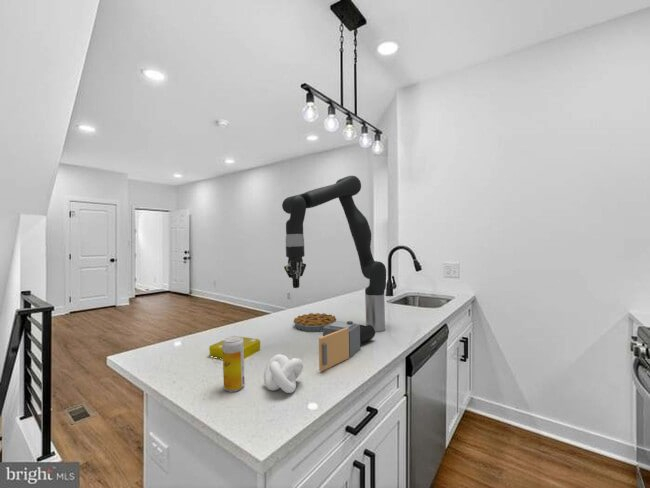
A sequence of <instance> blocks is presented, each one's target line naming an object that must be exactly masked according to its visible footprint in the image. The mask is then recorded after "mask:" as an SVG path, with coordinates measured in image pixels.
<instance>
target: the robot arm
mask: <svg viewBox="0 0 650 488" xmlns="http://www.w3.org/2000/svg"><path fill="white" fill-rule="evenodd" d="M361 189H362V182H361V180H360V178H359V177H357V176H355V175H347V176H345V177H342V178H339V179H337V181H336V182H335V183H333V184H329V185H326V186H322V187H317V188H314V189H312V190H308V191H306V192H304V193H300V194H295V195H292V196H288V197H286V198H284V200H283V201H282V204H281V207H282V208H281V209H282V210H283V211H284V212H285V213H286V214H289V219H288V220H286V222H285V257H286V258H288V259H287V265H284V266H283V267H284V271H285V272H286V275H287V277H288V278H291V280H292V288H293V289H298V288H300V279H301V277H303V275H304V273H305V270H306V267H307V264H306V263H304V262H303V257H305V237H304V221H305V216H306V212H307V209H311V208H315V207H318V206H321V205H323V204H326V203H328V202H330V201H333V200H335V199H338V201H339V203H340V204H341V207H342V210H343V212H344V215H345V219H346V221H347V224H348V226H349V227H348V228H349V230H350V234H351V237H352V241H353V243H354V246H355V249H356V252H357V256H358V259H359V260H358V261H359V265H360V270H361V273H362V275H363V277H364V278H366V279H368V280H369V284H368V286H367V287H365V289H364V294H365V295H364V297H365V298H364V299H365V300H364V301H365V326H367V325H371V326H373V328H374V330H375V333H378V332H384V331H385V330H386V315H385V314H386V313H385V312H386V309H385V307H386V305H385V290H386V287H387V268H386V266H385V264H384V263H383V262H382V261H378V260H374V256H373V254H372V250H371V243H372V231H371V228H370V225H369V221H368V219H367V217H366V216H365V215H364V214H363V213H362V212H361V211H360V210H359V209H358V207H357V205H356V204H355V201H354V199H353V197H354V196H355V195H358V194H359V192H361Z"/></svg>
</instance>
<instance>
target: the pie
mask: <svg viewBox="0 0 650 488" xmlns="http://www.w3.org/2000/svg"><path fill="white" fill-rule="evenodd" d="M334 321H335V322H336V321H337V318H336V315H332V314H327V313H324V312H323V313H319V312H318V313H313V312H311V313H309V314H302V315H298V316H297V317H295V318H294V320H293V324H295V327H296V328H297V329H298V330H300V329H301V331H303V330H304V331H303V332H305V331H306V332H323V327H325V326H327V325H329V324H330V323H332V322H334Z"/></svg>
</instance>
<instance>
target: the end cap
mask: <svg viewBox="0 0 650 488" xmlns="http://www.w3.org/2000/svg"><path fill="white" fill-rule="evenodd" d="M374 337H376V332H375V330H374V328H373V326H371V325H367V326H366V325H363V324H360V345H361V344H364V343H366V342H367V343H368V341H371V340H372V339H374Z"/></svg>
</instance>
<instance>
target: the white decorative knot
mask: <svg viewBox="0 0 650 488" xmlns="http://www.w3.org/2000/svg"><path fill="white" fill-rule="evenodd" d="M303 363H304V362H303V361H302V360H301V359H300V358H298V357H294V358H291V359H289V358H288V357H287V356H286V355H284V354H276V355H273V356H272V357H271V358H270V359H269V360H268V362H267V364H266V366H265V368H264V373H263V382H264V385H265V387H266V389H268V390H269V391H273V392H274V391H277V390H279V389H281V390H282V392H284V393H287V394H292V393H294V392H295V391H296V389H297V379H298V378H299V377H300V376H301V374H302V371H303V369H304V364H303Z"/></svg>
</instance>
